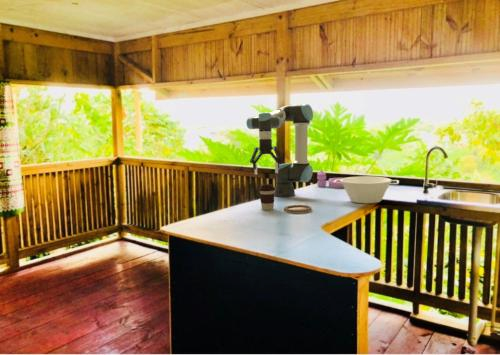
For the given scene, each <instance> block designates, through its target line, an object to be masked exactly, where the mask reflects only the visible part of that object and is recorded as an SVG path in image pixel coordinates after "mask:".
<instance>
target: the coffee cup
mask: <svg viewBox="0 0 500 355" xmlns="http://www.w3.org/2000/svg"><path fill="white" fill-rule="evenodd" d="M275 187H276V186H274V185H273V184H269V183H267V184H265V183H264V184H261V185H260V187H258V190H259V197H260V205H261V206H260V207H261V210H263V211H271V210H274V209H275V208H274V206H275V204H274V203H275V196H274V191H275Z"/></svg>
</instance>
